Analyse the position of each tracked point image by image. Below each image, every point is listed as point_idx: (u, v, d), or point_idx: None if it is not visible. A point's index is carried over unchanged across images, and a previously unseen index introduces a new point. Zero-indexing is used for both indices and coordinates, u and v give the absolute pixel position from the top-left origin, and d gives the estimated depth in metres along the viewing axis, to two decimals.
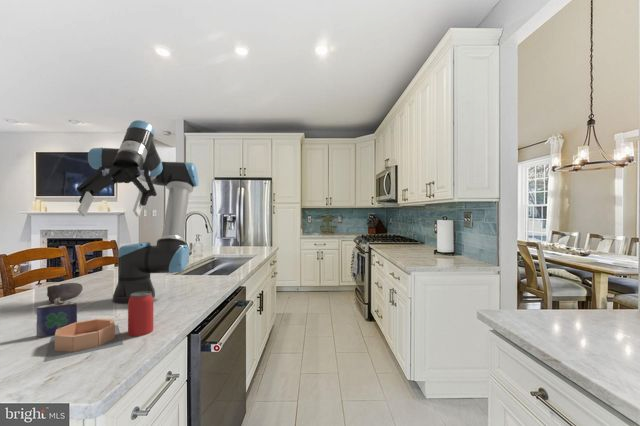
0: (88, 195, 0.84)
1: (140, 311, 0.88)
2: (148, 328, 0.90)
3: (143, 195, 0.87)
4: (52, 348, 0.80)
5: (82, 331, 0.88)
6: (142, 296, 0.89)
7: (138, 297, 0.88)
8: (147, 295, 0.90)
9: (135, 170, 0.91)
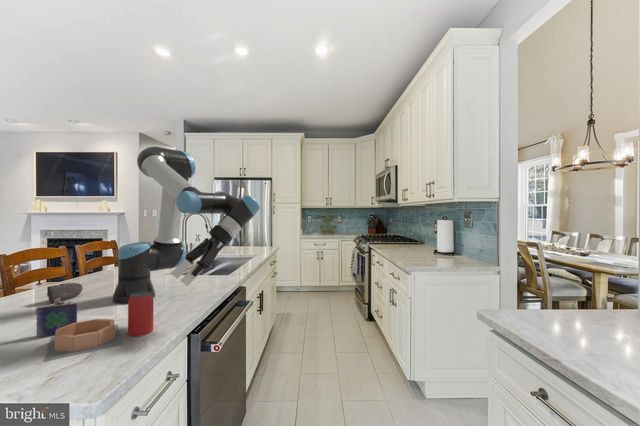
0: None
1: (140, 311, 0.88)
2: (148, 328, 0.90)
3: None
4: (52, 348, 0.80)
5: (82, 331, 0.88)
6: (142, 296, 0.89)
7: (138, 297, 0.88)
8: (147, 295, 0.90)
9: None
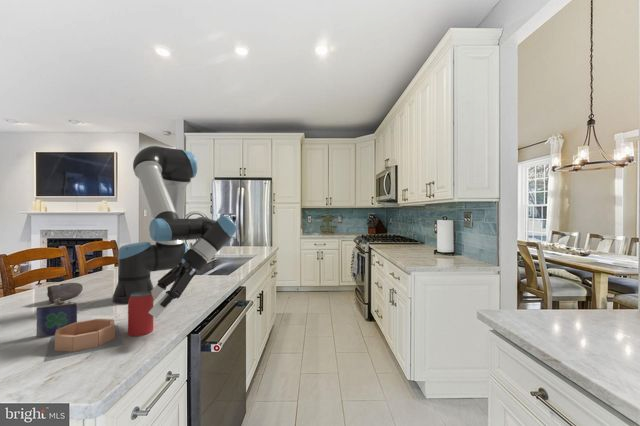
0: None
1: (140, 311, 0.88)
2: (148, 328, 0.90)
3: None
4: (52, 348, 0.80)
5: (82, 331, 0.88)
6: (142, 296, 0.89)
7: (138, 297, 0.88)
8: (147, 295, 0.90)
9: None
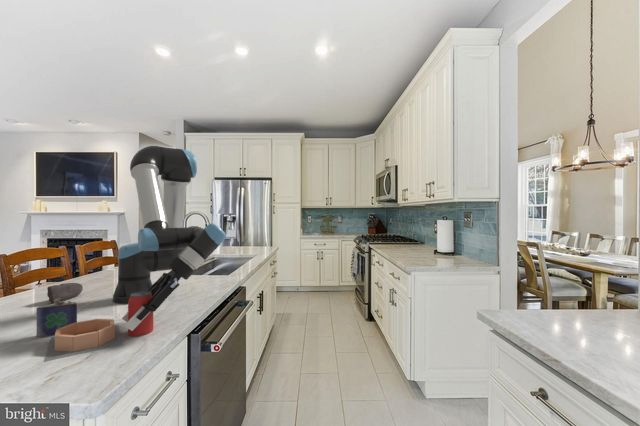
0: None
1: None
2: (148, 328, 0.90)
3: None
4: (52, 348, 0.80)
5: (82, 331, 0.88)
6: (142, 296, 0.89)
7: (138, 297, 0.88)
8: (147, 295, 0.90)
9: None
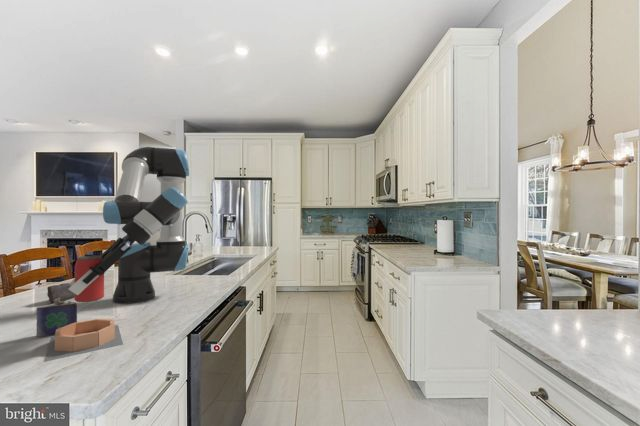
0: None
1: None
2: (97, 294, 0.84)
3: None
4: (52, 348, 0.80)
5: (82, 331, 0.88)
6: (90, 259, 0.83)
7: (85, 260, 0.82)
8: (96, 258, 0.84)
9: None
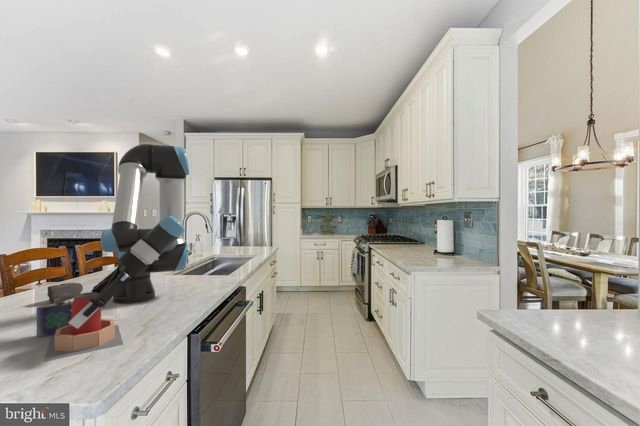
0: None
1: None
2: None
3: None
4: (52, 348, 0.80)
5: None
6: (87, 298, 0.83)
7: (82, 299, 0.82)
8: (93, 296, 0.84)
9: None
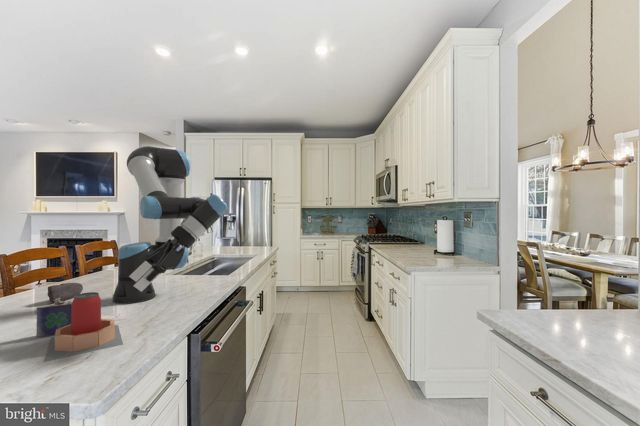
0: None
1: (84, 314, 0.82)
2: None
3: None
4: (52, 348, 0.80)
5: None
6: (86, 298, 0.83)
7: (82, 299, 0.82)
8: (92, 296, 0.84)
9: None
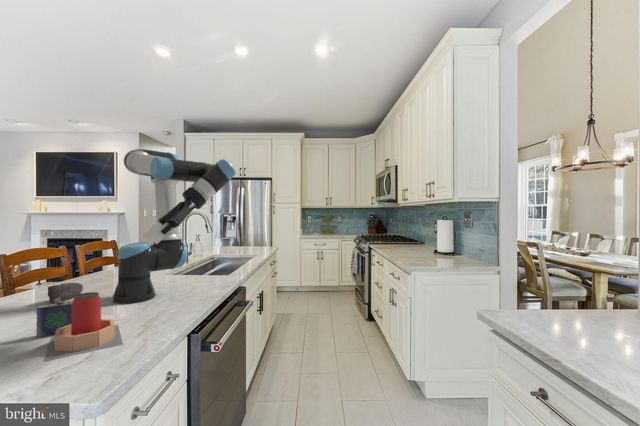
0: None
1: (84, 314, 0.82)
2: None
3: (161, 226, 1.05)
4: (52, 348, 0.80)
5: None
6: (86, 298, 0.83)
7: (82, 299, 0.82)
8: (93, 296, 0.84)
9: None
